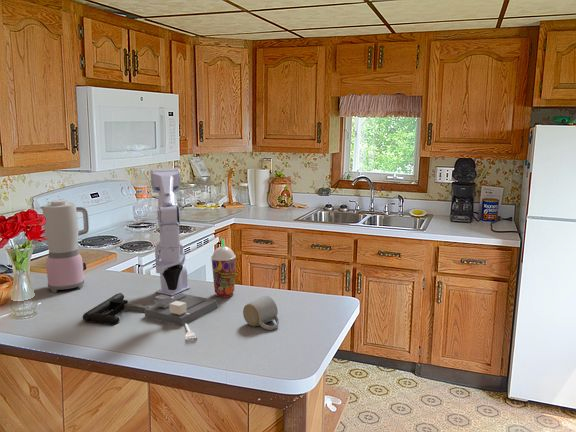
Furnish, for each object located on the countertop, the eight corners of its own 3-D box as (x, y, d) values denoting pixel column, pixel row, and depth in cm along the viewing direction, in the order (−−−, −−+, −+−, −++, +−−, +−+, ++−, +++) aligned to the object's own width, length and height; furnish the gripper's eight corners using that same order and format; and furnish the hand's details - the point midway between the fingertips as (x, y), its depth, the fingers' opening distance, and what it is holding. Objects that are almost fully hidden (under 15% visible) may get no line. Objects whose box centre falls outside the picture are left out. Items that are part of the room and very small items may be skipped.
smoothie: (221, 300, 175) (219, 242, 171) (207, 294, 181) (205, 238, 177) (241, 294, 180) (240, 238, 176) (227, 289, 186) (226, 234, 182)
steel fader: (161, 302, 164) (161, 294, 164) (171, 305, 163) (170, 296, 162) (154, 305, 162) (154, 297, 161) (164, 308, 160) (164, 299, 159)
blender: (51, 295, 181) (42, 205, 175) (44, 286, 191) (36, 200, 185) (97, 286, 190) (90, 200, 184) (89, 278, 200) (82, 196, 194)
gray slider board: (181, 300, 175) (181, 292, 175) (217, 307, 168) (217, 300, 167) (145, 316, 161) (144, 309, 160) (182, 326, 153) (181, 317, 153)
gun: (157, 297, 172) (113, 291, 175) (125, 320, 153) (77, 313, 156) (157, 307, 172) (114, 300, 176) (125, 331, 153) (77, 323, 157)
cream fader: (176, 309, 159) (176, 300, 158) (186, 311, 157) (186, 302, 156) (169, 312, 156) (169, 303, 156) (180, 314, 154) (179, 306, 154)
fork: (188, 318, 161) (187, 313, 161) (199, 343, 143) (198, 336, 142) (177, 320, 160) (177, 314, 160) (187, 344, 142) (186, 338, 141)
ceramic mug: (241, 323, 155) (240, 299, 153) (261, 316, 161) (261, 292, 159) (265, 334, 148) (265, 309, 146) (285, 326, 153) (285, 301, 152)
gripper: (170, 239, 163) (172, 281, 165) (145, 251, 149) (148, 296, 152) (190, 241, 161) (192, 282, 163) (167, 252, 147) (169, 298, 150)
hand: (172, 289), depth 157 cm, fingers closed
